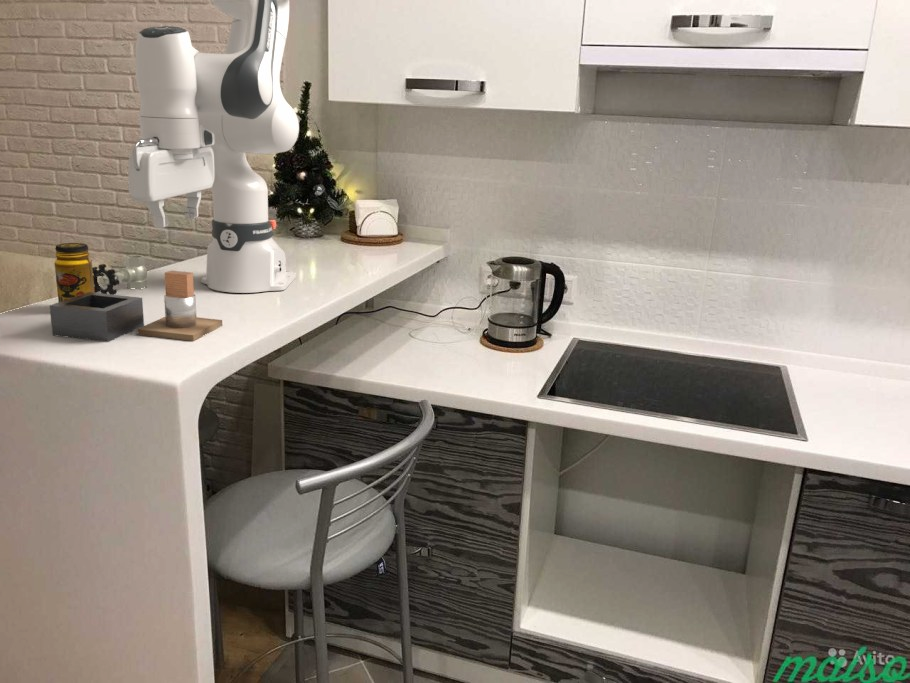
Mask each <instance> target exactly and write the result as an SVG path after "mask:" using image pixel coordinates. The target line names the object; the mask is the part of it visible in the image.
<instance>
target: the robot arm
mask: <svg viewBox="0 0 910 683" xmlns="http://www.w3.org/2000/svg"><path fill="white" fill-rule="evenodd" d="M210 1H211V3H212V4H213V5H214V6H215V7H216V8H217V9H218V10H219V11H220V12H222V13H224V14H225V15H227V16H228V17H230V18H232V22H231V24H230V28H229V29H230V30H229V34H228V39H227V43H226V47H225V52H224V53H214V52H213V53H208V52H207V53H206V52H200V50H197V49H196V48H195V47H194V46H193V45H192V40H191V36H190V32H189V31H188V30H187V29H185V28H183V27H179V26H152V27H146V28H144V29H142V30H141V31H139V32H138V33H137V36H136V43H135V55H134V59H135V61H134V62H135V65H134V66H135V80H136V88H137V91H138V94H139V98H140V107H139V112H138V115H139V116H138V117H139V129H140V138H139V139H137V140H136V143H135V144H134V145H133V147H132V149H131V153H130V155H129V158H128V169H127V170H128V171H127V172H128V193H129V195H130V198H131V199H132V200H133V201H134V202H142V203H143V202H144V203H146V208H147V209H148V211H149V213H150V215H151V216H152V223H153V227H154V228H155V229H164V228H166V227H168V226H169V225H170V224H169V215H165V212H164V209H163V207H164V206H165V203H164V202H165V200H166V199H170V198H174V197H180V196H182V195H183V196H184V195H185V197H187V199H186V200H187V201H186V207H184V208H183V210H184V211H183V212H184V218H186V219H190V220H193V219H197V218H199V207H200V203H201V199H202V191H204V190H209V189H211V196H212V207H213V208H212V210H213V219H211V226H210V228H211V229H210V230H211V237H212V238H213V239H212V241H211V242H210V243H209V244H208V246H207V250H206V252H207V253H206V273H205V274H206V276H203V277H201V283H202V284H204V285H207V287H208V288H209V289H211V290H213V291H217V292H226V293H234V294H235V293H236V294H237V293H238V294H239V293H241V294H245V293H246V294H248V293H250V294H252V293H260V292H261V293H262V292H270V291H271V292H272V291H273V292H274V291H275V292H276V291H285V290H286V288H288V287H289V285H290V284H292V282H293V281H294V280H295V279H296V278H297V272H296V271H291V270H288V269H287V258H286V253H285V250H283V249H282V248H281V247H280V245H279V244H278V243H277V242H276V241H275V239H274V238H273V236H274V234H273V230H275V229H276V228H277V221H276V219H269V200H268V199H269V196H268V195H269V192H268V191H269V190H268V185H267V182H266V180H265V179H264V177H262V176H261V175H260V174H258V173H257V172H255V171H254V170H253V169H252V167H251V166H250V164H249V162H248V160H247V156H246V154H254V155H255V154H256V155H257V154H258V155H272V154H274V155H275V154H279V153H285V152H288V151H290V150H291V149H292V148H293V147H294V146H295V144H296V142H297V141H298V137H299V134H300V121H299V119H298V116H297V114H296V112H295V110H294V108H293V107H292V106H291V105H290V104H289V103H288V101H287V100H286V98H285V97H284V95H283V91H282V88H281V78H280V77H281V68H282V64H283V57H284V52H285V47H286V42H287V37H288V31H289V22H290V0H210Z"/></svg>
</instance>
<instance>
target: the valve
mask: <svg viewBox="0 0 910 683" xmlns="http://www.w3.org/2000/svg"><path fill="white" fill-rule="evenodd" d="M125 265H126V267H122V268H119V269H118V271H117V272H116V270H115V269H114V268H111V269H108V270H106V268H107V264H105V263H101V264H98V266H92V269H93V281H94V292H95V293H102V294H112V295H117V292H118V290H117V289H114V287H115V286H119V285H120V282H122V283H123V284H126V285H127V286H126V287H127V288H128V287H129V288H135V289H134V290H142V289H141V288H144V287H147V288H148V280H147V279H146V278H147V276H148V269H147V267H146V265H147V264H146V257H145V256H144V255H141V254H140V255H139V254H130V255H126V256H125ZM98 277H99V280H98ZM98 281H99V282H98ZM99 284H100V285H102V286H106V288H104V287H102V286H100V285H99ZM129 288H128V289H129ZM144 289H145V288H144Z"/></svg>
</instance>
